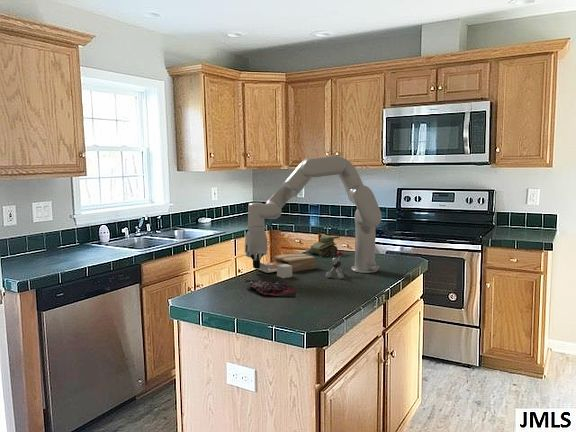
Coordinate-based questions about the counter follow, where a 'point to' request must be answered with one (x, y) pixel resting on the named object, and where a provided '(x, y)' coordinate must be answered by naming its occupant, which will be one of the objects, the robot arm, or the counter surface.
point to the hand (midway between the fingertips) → (256, 268)
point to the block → (284, 270)
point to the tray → (266, 268)
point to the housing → (297, 261)
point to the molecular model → (336, 266)
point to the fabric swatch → (272, 288)
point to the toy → (324, 246)
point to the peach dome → (273, 265)
